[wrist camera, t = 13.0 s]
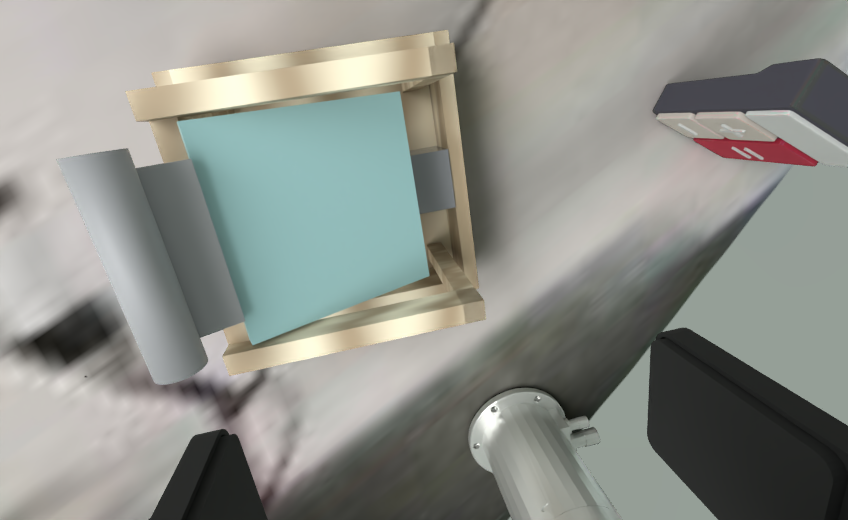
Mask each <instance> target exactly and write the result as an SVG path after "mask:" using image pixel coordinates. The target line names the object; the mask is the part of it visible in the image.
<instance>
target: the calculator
mask: <svg viewBox="0 0 848 520" xmlns="http://www.w3.org/2000/svg"><path fill="white" fill-rule="evenodd" d="M653 113H655V114H657V117H656V119H657V120H658V121H660V122H662V123H663V124H665V125H667V126H669V127H670V128H672V129H674V130H676V131H677V132H679V133H681V134H683V135H684V136H686V137H690V138H694V139H693V140H694V141H695V142H697V143H699V144H700V145H702V146H704V147H706V148H707V149H709V150H711V151H713V152H714V153H716V154H718V155H720V156H721V157H724V158H733V159H743V160H753V161H764V162H774V163H784V164H794V165H804V166H816V165H817V163H818V162H820V163H822V164H824V165H828V166H838V167H848V75H846V74H845V73H844V72H842V71H841V70H840V69H838V68H837V67H835V66H834V65H833V64H831V63H830V62H828V61H827V60H825V59H821V58H817V59H810V60H802V61H795V62H787V63H780V64H773V65H771V66H769V67H768V68H766V69H764V70H762V71H761V72H759V73H756V74H748V75H740V76H731V77H723V78H714V79H706V80H697V81H689V82H680V83H672V84H667V85H666V87H665V89H664V91H663V93H662V94H661V96H660V98H659V100H658V102H657V104H656V106H655V107H654V109H653Z"/></svg>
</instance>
